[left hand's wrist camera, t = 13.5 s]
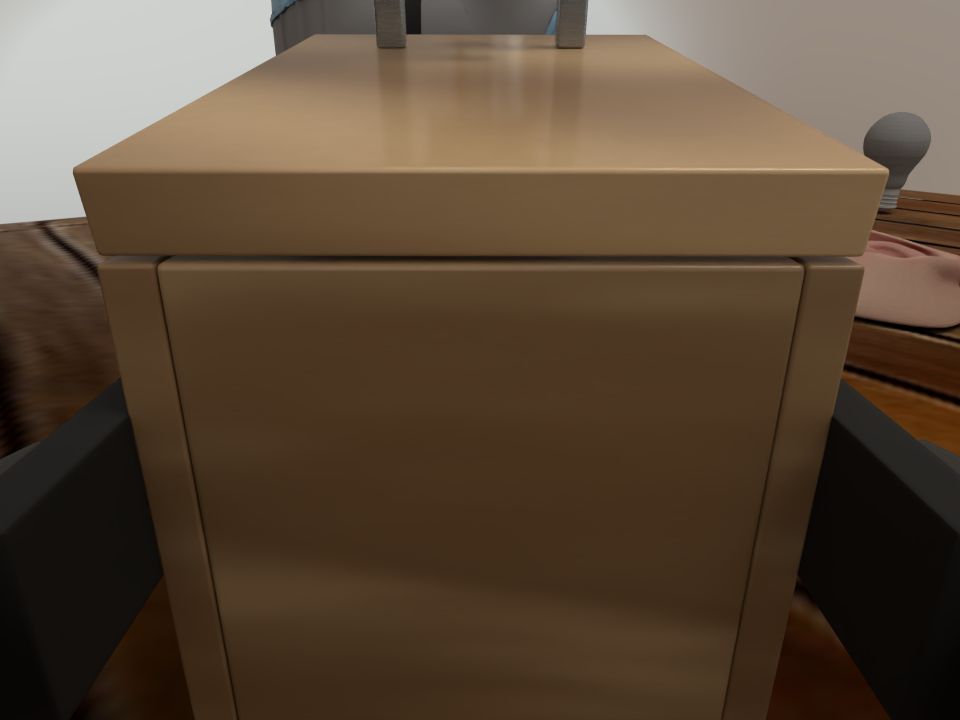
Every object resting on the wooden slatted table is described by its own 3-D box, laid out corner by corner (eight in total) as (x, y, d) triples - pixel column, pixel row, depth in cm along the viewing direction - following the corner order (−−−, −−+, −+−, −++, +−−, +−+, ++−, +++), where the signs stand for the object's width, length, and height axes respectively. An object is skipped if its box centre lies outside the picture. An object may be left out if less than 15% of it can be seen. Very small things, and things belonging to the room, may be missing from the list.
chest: (344, 466, 24) (318, 158, 20) (615, 467, 24) (642, 159, 20) (215, 830, 12) (93, 264, 8) (743, 832, 12) (869, 265, 8)
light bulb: (863, 214, 71) (884, 113, 67) (841, 205, 76) (860, 110, 73) (924, 216, 70) (949, 113, 67) (898, 206, 76) (920, 111, 72)
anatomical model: (1022, 264, 35) (780, 245, 39) (999, 337, 36) (769, 311, 41) (966, 221, 46) (784, 209, 50) (951, 277, 48) (775, 262, 52)
